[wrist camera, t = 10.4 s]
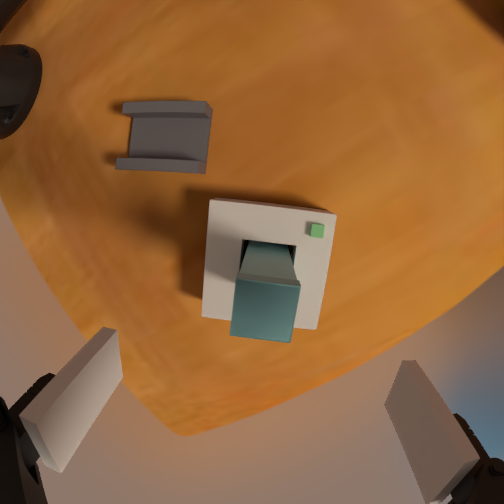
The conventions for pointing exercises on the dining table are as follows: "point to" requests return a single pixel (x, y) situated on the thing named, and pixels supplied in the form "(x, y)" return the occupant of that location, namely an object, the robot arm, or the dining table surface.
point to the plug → (265, 294)
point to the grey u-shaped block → (168, 136)
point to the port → (266, 230)
